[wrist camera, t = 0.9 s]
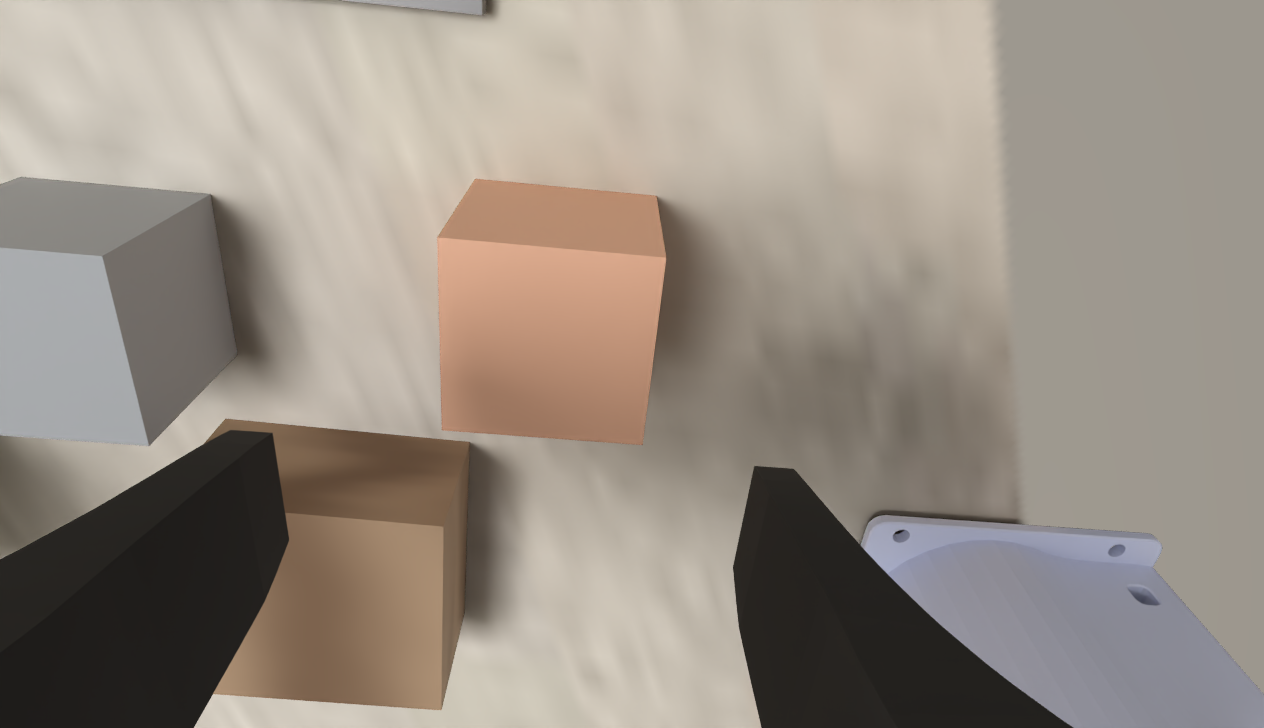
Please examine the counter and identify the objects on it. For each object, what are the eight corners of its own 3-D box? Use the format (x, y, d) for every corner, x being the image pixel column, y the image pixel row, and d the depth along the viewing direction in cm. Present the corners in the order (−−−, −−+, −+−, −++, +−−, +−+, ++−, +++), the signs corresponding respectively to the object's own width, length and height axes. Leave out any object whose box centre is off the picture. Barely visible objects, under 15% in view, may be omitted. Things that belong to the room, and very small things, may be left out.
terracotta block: (656, 194, 19) (666, 257, 15) (637, 353, 21) (642, 444, 17) (475, 178, 19) (437, 237, 15) (475, 340, 21) (441, 430, 17)
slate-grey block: (212, 192, 19) (102, 256, 15) (238, 353, 21) (148, 445, 17) (22, 176, 18) (-141, 235, 14) (69, 339, 21) (-62, 431, 17)
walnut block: (471, 437, 22) (443, 526, 19) (465, 607, 26) (441, 710, 22) (229, 414, 22) (154, 501, 18) (255, 590, 25) (196, 692, 22)
